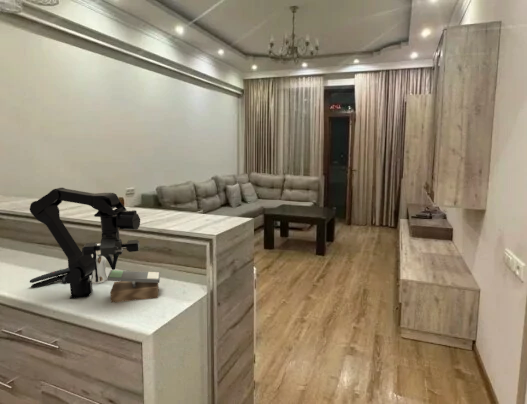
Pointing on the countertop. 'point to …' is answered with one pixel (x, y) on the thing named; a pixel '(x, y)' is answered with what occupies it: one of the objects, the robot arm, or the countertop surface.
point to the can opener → (51, 280)
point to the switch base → (133, 291)
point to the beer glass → (99, 268)
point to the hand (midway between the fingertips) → (113, 269)
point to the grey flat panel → (134, 276)
